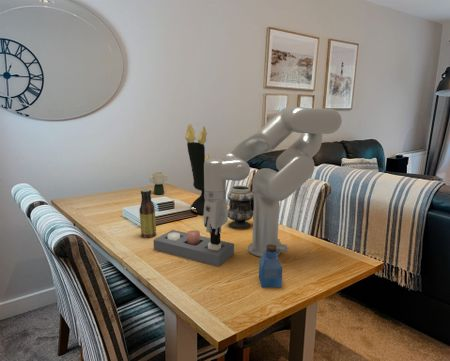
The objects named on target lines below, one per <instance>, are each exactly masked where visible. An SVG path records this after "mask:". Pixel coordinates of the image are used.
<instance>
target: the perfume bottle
mask: <svg viewBox="0 0 450 361" xmlns="http://www.w3.org/2000/svg"><path fill="white" fill-rule="evenodd" d="M266 247H267V249H266V254H263V255H262V257H260V258H259V260H258V261H259V262H258V263H259V264H258V265H259V266H258V279H259V283H260V287H261V288H282V285H283V284H282V283H283V267H282V263H281V262H280V259H279V258H278V255H277V250H276V248H277V246H276V245H272V244H269V245H267V246H266Z"/></svg>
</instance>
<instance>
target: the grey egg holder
mask: <svg viewBox="0 0 450 361" xmlns="http://www.w3.org/2000/svg"><path fill="white" fill-rule="evenodd" d="M172 232H176V233H179V234H180V239H178V240H176V241H174V240H169V239H168V238H167V235H168V234H169V233H172ZM209 242H211V240H210V237H207V236H202V235H200V243H199V244H198V245H196V246H195V245H190V244H187V232H184V231H180V230H175V229H172V230H170V231H167V232H165V233H163V234H162V235H160V236H158V237H156V238H155V239H153V250H154V251H156V252H161V253H164V254H168V255H172V256H177V257H181V258H184V259H188V260H191V261H196V262H200V263H203V264H207V265H211V266H215V267H218V268H219V267H220V266H221V265H222V264H223V263H225V262H226V261H227V260H228V259H229V258H230V257H232V256H233V255H234V254H235V243H234V242H229V241H225V240H221V239H220V243H221V249H219V250H218V251H215V250H211V249H208V243H209Z"/></svg>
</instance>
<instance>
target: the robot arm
mask: <svg viewBox="0 0 450 361" xmlns="http://www.w3.org/2000/svg"><path fill="white" fill-rule="evenodd" d="M341 126H342V115H341V114H340V112H339V111H338V110H336V109H334V108H319V107H316V108H315V107H314V108H313V107H302V106H286V107H284V108H282V109H281V110H280V111H278V113H276V114H275V115H274V116H273V117H272V118H271V119H270V120H269V121H268V122H267V123H265V124H264V125H263V127H261V128H260V129H259V130H258V131H257V132H255V133H254V134H252V135H250V136H249V137H248V138H246V139H244V140H242V141H241V142H239V143H237V145H236V146H234V147H233V148H232V149H231V150H230V151H229V152H228V153H227V154H225V155H224V157H223V158H209V159H208V160H206V161H205V162H204V199H205V203H204V215H203V227H205V228H206V229H205V232H206V233H209V234H210V236H209V238H210V240H211V244H216V245H218V244H220V240H221V232H222V226H223V225H225V224H226V223H227V222H228V221H229V217H228V209H229V208H228V202H227V181H236V182H237V181H238V182H240V181H241V182H242V181H244V180H245V179H247V178H248V177H249V175H250V172H251V167H250V165H249V163H248V162H249V160H251V159H252V158H255V157H257V156H258V155H262V154H266V153H269V152H270V153H271V152H272V151H274V150H275V149H276V148H278V146H279V145H280V144H281V143H283V142H284V141H285V140H286V139H287V138H288V137H289V136H290V135H291V134H292V133H298V134H300V136H299V137H298V139H296V140H295V141H294V142H293V143H292V144H291V145H290V146H289V147H288V148H286V149H285V150H284V151H283V152H282V153H281V154H280V155H278V157H277V158H276V161H275V166H276V169H277V170H278V171H277V170H274V169H271V168H267V167H263V168H261V169H258V170H257V171H256V172H255V174H254V175H253V177H252V182H251V183H252V184H251V185H252V193H253V210H252V212H253V217H252V238H251V239H252V240H251V243H250V244H249V245H248V246H247V251H248V252H249V253H250V254H251V255H253V256H255V257H260V258H261V257H262V255H263V254H266V249H267V247H266V246H267V245H269V244H272V245H276V246H277V248H276V250H277V256H279V255H280V254H281V253H288V250H289V247H288V245H287V244H283V243H281V239H280V238H279V222H280V202H281V201H284V200H286V199H287V198H289V197H290V196H292V195H293V194H294V193H295V192H296V191H297V190H298V189H299V188H301V187H302V186H303V185H304V184H305V183H306V182H307V181H308V180H309V179H310V178H311V177H312V175H313V173H314V170H315V161H314V159H313V157H315V155H316V154H317V153H318V152H319V151H320V149H321V146H322V143H323V135H331V134H333V133H335V132H337V131H339V129H340V128H341Z"/></svg>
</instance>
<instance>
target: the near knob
mask: <svg viewBox="0 0 450 361" xmlns="http://www.w3.org/2000/svg"><path fill="white" fill-rule="evenodd" d="M208 249H211V250H215V251H218V250H219V249H221V243H220V244H218V245H216V244H211V242H209V243H208Z"/></svg>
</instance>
